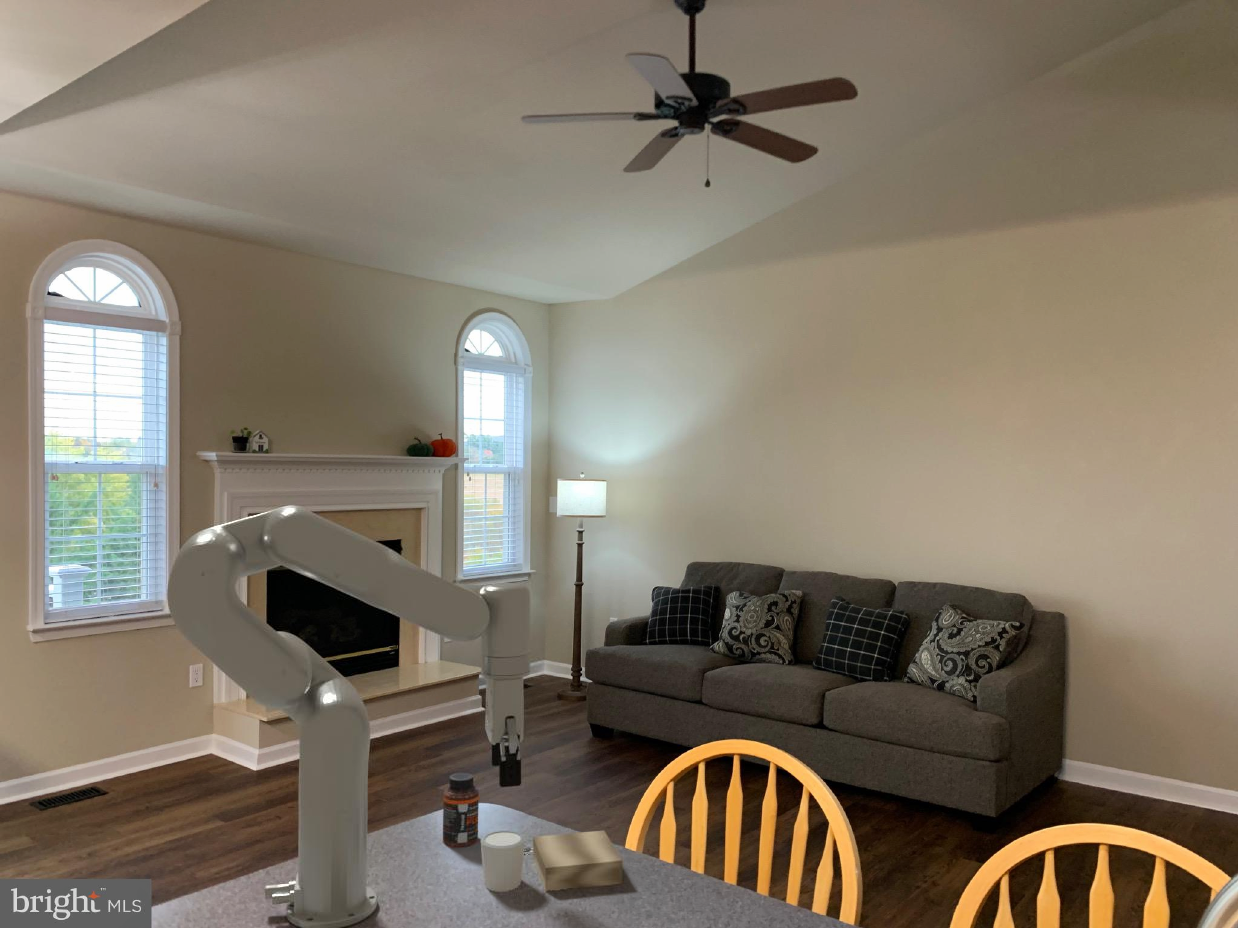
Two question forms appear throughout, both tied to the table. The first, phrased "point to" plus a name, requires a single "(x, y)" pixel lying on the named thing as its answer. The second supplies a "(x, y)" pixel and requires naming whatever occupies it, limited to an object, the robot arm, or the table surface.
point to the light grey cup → (502, 860)
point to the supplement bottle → (460, 811)
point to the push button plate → (527, 849)
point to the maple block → (576, 860)
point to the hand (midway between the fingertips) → (505, 774)
